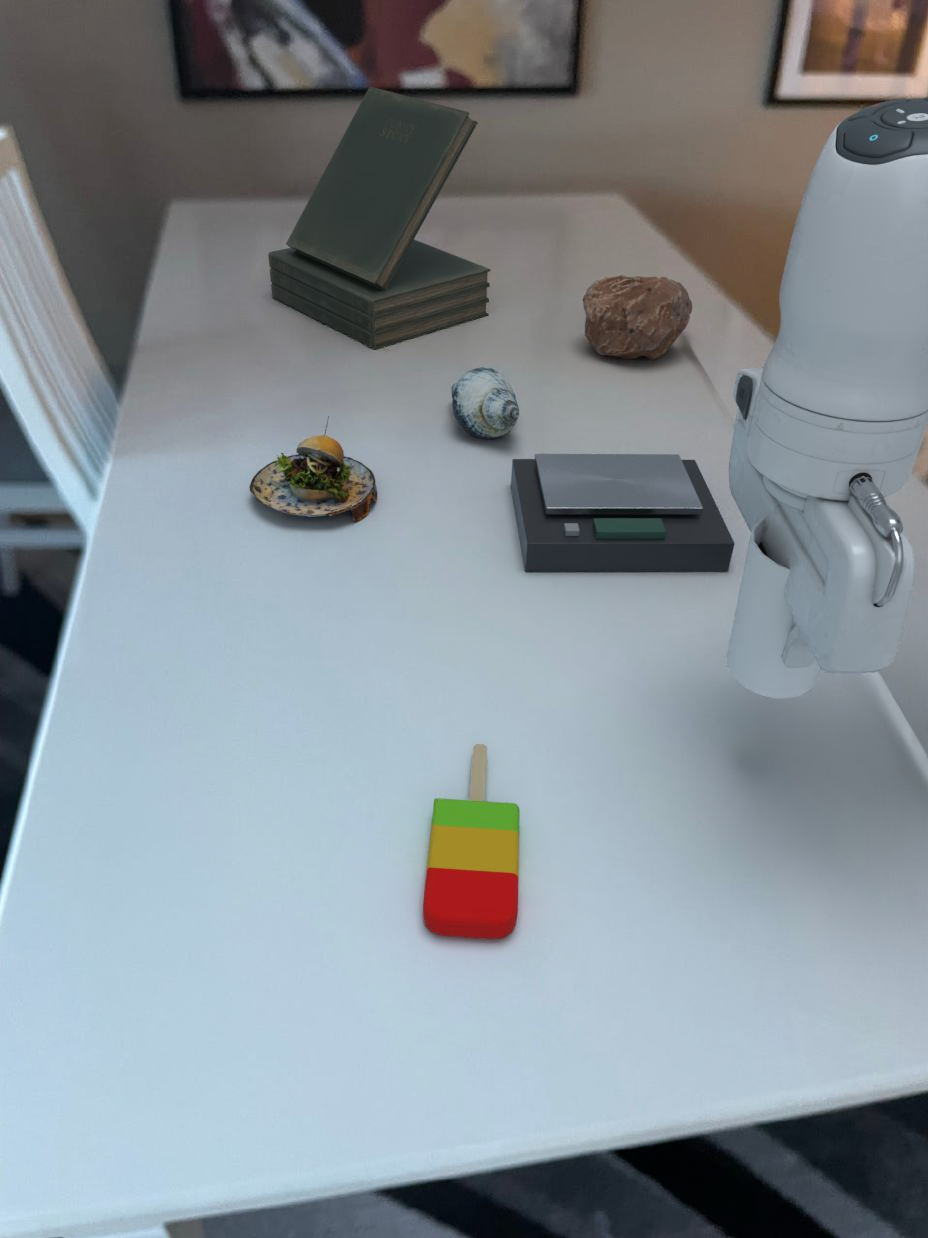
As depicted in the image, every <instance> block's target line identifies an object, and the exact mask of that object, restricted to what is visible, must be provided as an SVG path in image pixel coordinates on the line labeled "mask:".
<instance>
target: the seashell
mask: <svg viewBox="0 0 928 1238" xmlns="http://www.w3.org/2000/svg"><path fill="white" fill-rule="evenodd" d="M451 398H452V401H451V403H452V410H453V413H454V416H455V419H456V420H457V422H458V424H459V425H460V427H461V428H462V429H463V430H464V431H465V432H467V434H469V435H471V436H474V437H475V438H481V439H487V440H489V439H498V438H500V437H502V436H505V435H506V434H508V433H509V432H510V431H511V430H512V429H513V427H514V426H515V424H516V423H517V421H518V419H519V417H520V408H519V405H518V402H517V401H518V400H517V397H516V393H514V390H513V388H512V385H511V384H510V382H509V380H508V379H507V378H506V376H505V375H504V374H503V373H502V372H500V371H498V370H497V369H495V368H492V367H483V366H482V367H476V368H473V369H471V370H468V371H467V372H465V373H464V374H462V375H461V376H460V378H459V380H458V381H457V382H456V383H454V384H452V386H451Z"/></svg>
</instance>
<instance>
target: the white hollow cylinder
mask: <svg viewBox="0 0 928 1238" xmlns="http://www.w3.org/2000/svg"><path fill="white" fill-rule="evenodd" d="M764 521H765V518H764V517H763V518H761V519H759V521H758V522H757V523H756V524H755V525H754V526H753V528H752V530H751V532H750V534H749V535H750V536H749V541H748V545H747V551H746V556H745V561H744V566H743V571H742V575H741V581H740V586H739V592H738V597H737V602H736V607H735V612H734V616H733V621H732V627H731V633H730V636H729V643H728V647H727V653H726V668H727V670H728V671H729V673H730V675H731V677H732V678H733V679H734V680H735V681H736V682H737V683H738V684H740V685H741V686H742V687H743V688H745V689H746V690H748V691H750V692H753V693H755V694H757V695H760V696H762V697H767V698H774V699H779V700H780V699H789V698H798V697H799V696H802V695H803V694H805V693H807V692H811V689H812V688H813V686H814V685H815V683H816V682H817V680H818V677H819V675H820V672H821V671H822V669H821V668H820V667H819V665H818V664H817V662H816V660H815V659H814V662H813V663H812V664H811V665H810V666H808V667H797V668H789V667H787V666H785V664H784V662H783V660H782V657H781V656H782V653H783V650H784V647H785V644H786V641H787V636H788V635H789V633H790V632H791V631H792V629H793V628H794V627H795V624H794V622H793V621H792V617H793V614H792V612H791V610H790V608H789V606H788V604H787V602H786V601H785V599H784V587H785V584H786V582H787V579H788V576H789V573H790V569H789V568H786V567H783V566H781V565H778V564H777V563H775V562H774V561H773V560H771V559H770V558H769V557H768V555H767V553H766V551H765V549H764V546H763V544H762V542H761V543H760V538H761V534H762V530H763V525H764Z"/></svg>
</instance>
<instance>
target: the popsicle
mask: <svg viewBox="0 0 928 1238" xmlns="http://www.w3.org/2000/svg"><path fill="white" fill-rule="evenodd" d="M471 757H472V759H471V772H470V786H469V800H468V799H467V800H465V799H454V798H453V799H452V798H436V797H435V798H434V800H433V807H432V816H431V824H430V825H431V826H430V835H429V842H428V852H427V853H428V854H427V862H426V870H425V871H426V872H425V882H424V890H423V899H422V917H423V922H424V924H425V927H426V928H427V929H428V930H429V931H430V932H431V933H434V934H436V935H438V936H444V937H452V938H453V937H454V938H467V939H482V940H500V939H504V938H506V937H508V936H510V934H511V933H512V932H513V931H514V929H515V928H516V925H517V920H518V913H519V879H520V877H519V875H520V873H519V872H520V868H519V867H520V819H521V818H520V817H521V816H520V814H521V813H520V807H519V805H518V804H517V803H513V802H499V801H486V800H485V797H486V783H487V782H486V779H487V761H488V760H487V759H488V746H487V745H486V744H484V743H483V744H482V743H476V744H474V745H473V747H472V756H471Z"/></svg>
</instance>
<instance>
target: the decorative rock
mask: <svg viewBox="0 0 928 1238" xmlns="http://www.w3.org/2000/svg"><path fill="white" fill-rule="evenodd" d="M582 302H583V310H584V313H585V321H584V337H585V338H586V340H587V341H588V342H589V343H590V345H591V347H592V348H593V350H595V352H596V353H597V354H599V355H601V356H610V357H618V358H622V359H625V360H629V359H637V358H640V357H646V358H647V359H650V360H656V359H659V358H660V357H662V356H663V355H664V354H665V353H666V352H667V351H668V350H669V349H670V348H671V347H672V346H673V344H674V343H675V342H676V341H677V340H678V338H679V336H680V335H681V333H682V332H683V331H685V330H686V328H687V326H688V325H689V322H690V318H691V314H692V312H693V303H692V300H691V298H690V296H689V292H688V290H687V289H686V287H685V286H684V285H683V284H682V283H681V282H679V281H676V280H673V279H669V278H668V277H666V276H661V277H657V276H654V275H653V276H649V277H648V276H642V275H641V276H627V275H626V276H625V275H623V274H620V275H615V276H609V277H607V276H605V277H604V278H602V279H598V280H595V281H594V282H592V284H591V285H590V286H588V288H587V289H586V292H585V294H584V295H583V297H582Z"/></svg>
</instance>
